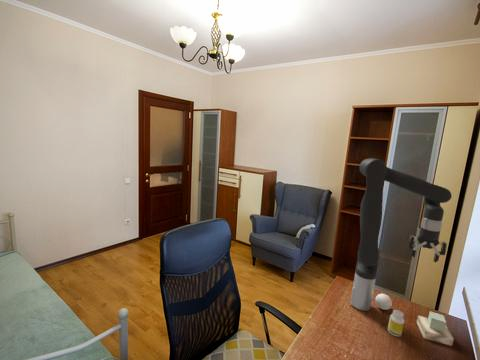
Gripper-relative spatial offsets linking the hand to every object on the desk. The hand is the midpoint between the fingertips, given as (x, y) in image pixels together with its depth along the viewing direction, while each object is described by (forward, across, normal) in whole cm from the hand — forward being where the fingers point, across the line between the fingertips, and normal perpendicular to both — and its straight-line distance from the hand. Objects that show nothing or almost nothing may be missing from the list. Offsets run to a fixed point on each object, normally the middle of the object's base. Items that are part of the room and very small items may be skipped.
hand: (423, 259), depth 119 cm
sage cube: (+24, +6, -14) cm, 29 cm away
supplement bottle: (+28, -10, -22) cm, 37 cm away
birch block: (+28, +6, -14) cm, 32 cm away
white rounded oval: (+28, -14, -8) cm, 33 cm away
